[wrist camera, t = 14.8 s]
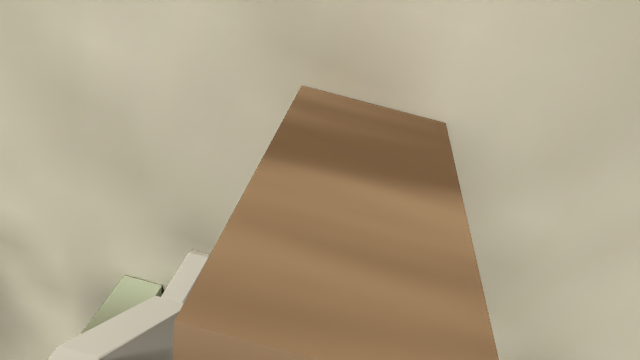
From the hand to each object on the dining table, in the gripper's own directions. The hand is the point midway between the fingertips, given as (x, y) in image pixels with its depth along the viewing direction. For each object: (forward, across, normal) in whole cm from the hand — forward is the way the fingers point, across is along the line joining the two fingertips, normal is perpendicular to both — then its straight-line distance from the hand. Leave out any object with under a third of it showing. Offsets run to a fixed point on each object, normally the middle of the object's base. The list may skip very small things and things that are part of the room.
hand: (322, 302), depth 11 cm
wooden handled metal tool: (+3, 0, +5) cm, 6 cm away
